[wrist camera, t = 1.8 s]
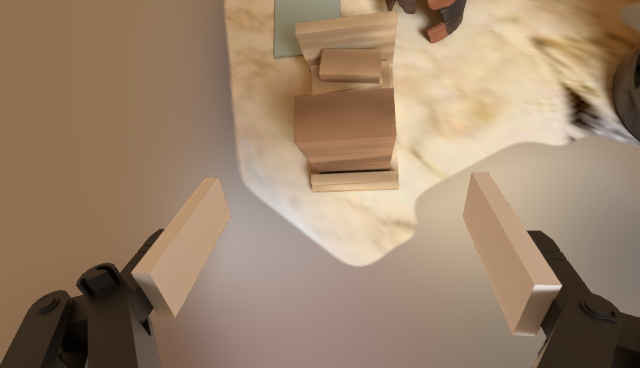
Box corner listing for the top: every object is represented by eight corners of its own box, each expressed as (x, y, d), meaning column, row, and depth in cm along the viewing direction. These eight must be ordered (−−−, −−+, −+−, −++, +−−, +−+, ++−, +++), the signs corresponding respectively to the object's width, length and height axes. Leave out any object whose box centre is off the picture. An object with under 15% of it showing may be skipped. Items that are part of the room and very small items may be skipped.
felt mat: (341, 50, 40) (340, 49, 40) (274, 58, 42) (274, 56, 41) (339, -10, 42) (339, -12, 41) (276, 0, 43) (275, -3, 43)
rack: (398, 189, 36) (406, 172, 27) (313, 192, 37) (294, 177, 28) (391, 63, 39) (396, 10, 30) (312, 71, 40) (295, 23, 31)
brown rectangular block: (388, 170, 35) (396, 136, 23) (319, 173, 36) (294, 142, 25) (387, 137, 36) (393, 87, 24) (319, 141, 37) (294, 96, 26)
